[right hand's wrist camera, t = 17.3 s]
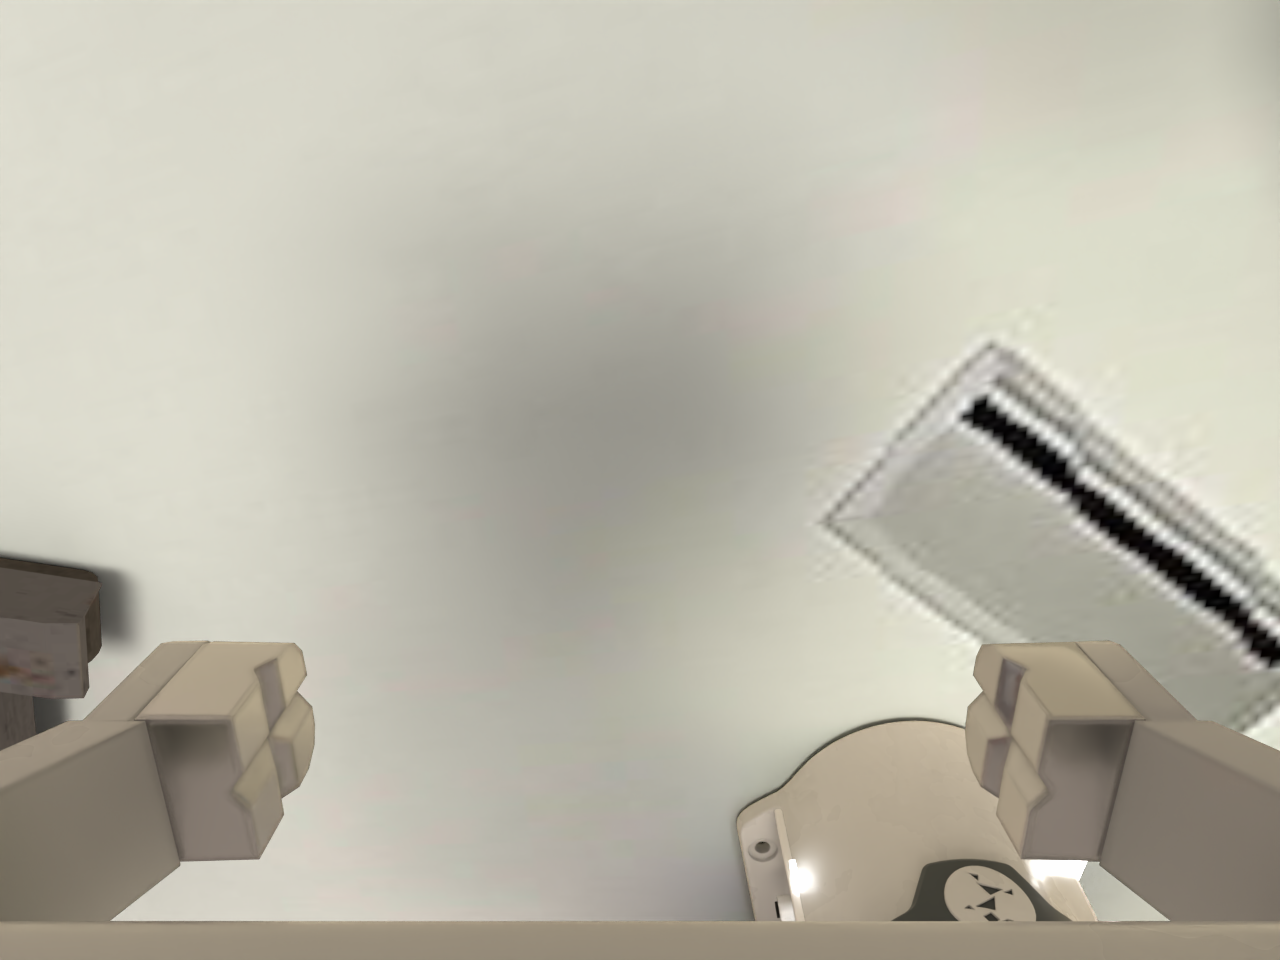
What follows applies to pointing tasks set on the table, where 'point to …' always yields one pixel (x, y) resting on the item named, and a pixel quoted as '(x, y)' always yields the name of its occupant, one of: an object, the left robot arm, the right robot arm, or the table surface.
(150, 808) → the right robot arm
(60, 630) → the toy
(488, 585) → the table surface
